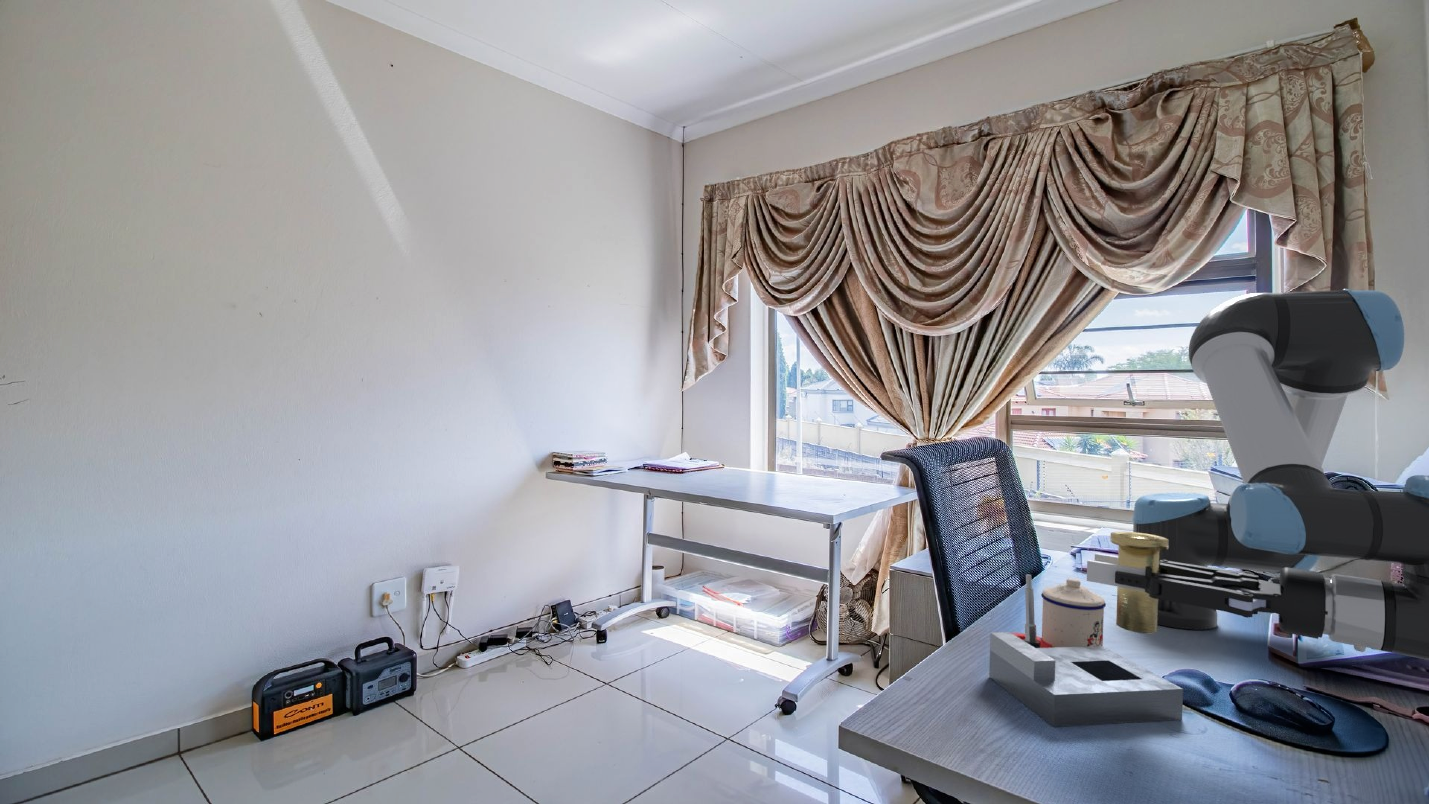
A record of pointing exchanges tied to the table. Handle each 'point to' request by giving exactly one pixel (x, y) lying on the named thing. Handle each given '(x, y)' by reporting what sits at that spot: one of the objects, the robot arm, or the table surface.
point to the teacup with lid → (1072, 616)
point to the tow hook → (1031, 619)
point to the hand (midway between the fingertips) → (1091, 566)
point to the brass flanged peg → (1133, 604)
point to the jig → (1081, 684)
